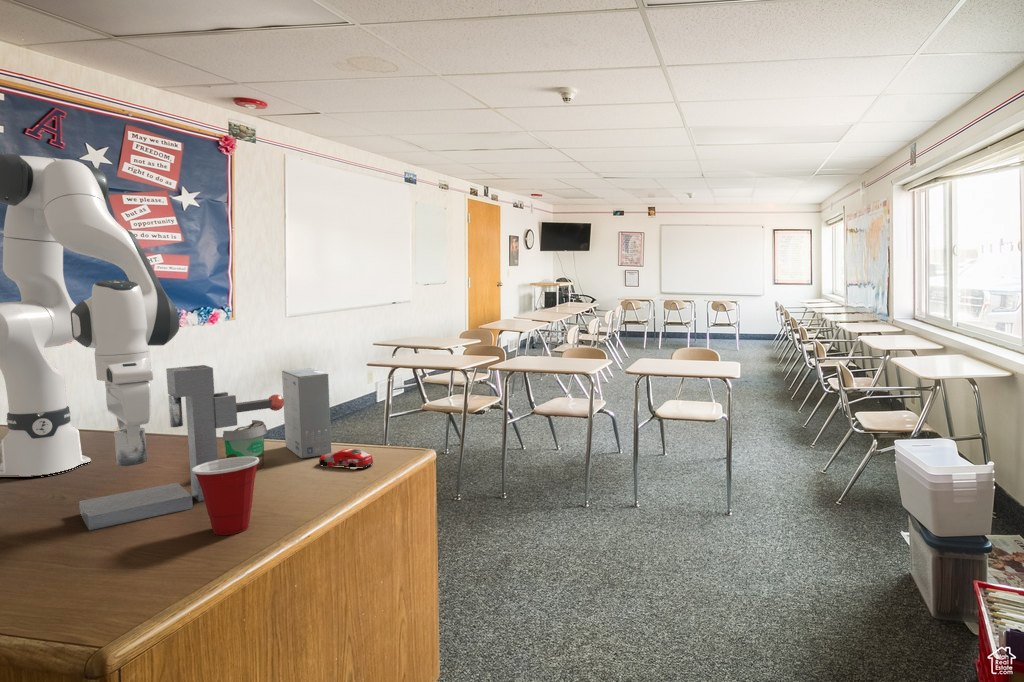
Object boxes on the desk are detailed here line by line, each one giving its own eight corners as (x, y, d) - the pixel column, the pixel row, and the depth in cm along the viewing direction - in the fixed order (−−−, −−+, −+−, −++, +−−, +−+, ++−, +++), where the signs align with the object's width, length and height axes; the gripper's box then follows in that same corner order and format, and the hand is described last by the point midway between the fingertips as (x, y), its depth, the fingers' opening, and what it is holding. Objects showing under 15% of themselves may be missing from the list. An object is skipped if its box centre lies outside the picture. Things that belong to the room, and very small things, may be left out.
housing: (114, 462, 131) (110, 422, 130) (144, 457, 134) (140, 418, 133) (119, 467, 127) (116, 427, 126) (150, 462, 130) (146, 422, 129)
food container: (249, 477, 153) (247, 432, 152) (224, 475, 154) (221, 431, 153) (279, 461, 165) (277, 420, 164) (255, 460, 166) (253, 419, 165)
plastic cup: (235, 514, 129) (231, 450, 128) (276, 524, 123) (272, 457, 122) (182, 534, 120) (177, 465, 118) (223, 545, 114) (219, 473, 113)
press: (80, 514, 131) (68, 376, 128) (229, 484, 147) (221, 362, 145) (89, 530, 122) (77, 383, 120) (246, 497, 139) (238, 367, 136)
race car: (314, 467, 161) (313, 450, 160) (328, 461, 166) (328, 445, 165) (362, 472, 156) (361, 454, 155) (376, 466, 161) (375, 449, 160)
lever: (212, 417, 141) (211, 401, 141) (281, 408, 150) (280, 392, 150) (217, 420, 139) (216, 403, 138) (287, 410, 147) (286, 394, 147)
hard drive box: (332, 454, 170) (329, 373, 168) (301, 459, 166) (297, 376, 164) (314, 442, 183) (310, 367, 181) (284, 446, 179) (280, 369, 177)
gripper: (94, 365, 135) (100, 435, 136) (114, 375, 119) (121, 455, 120) (131, 361, 139) (136, 430, 140) (155, 371, 123) (161, 448, 124)
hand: (129, 441), depth 130 cm, fingers closed on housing, 5 cm apart
